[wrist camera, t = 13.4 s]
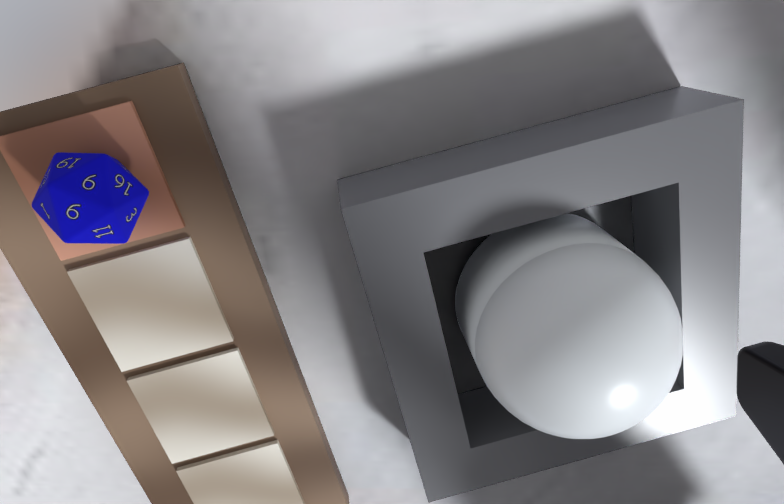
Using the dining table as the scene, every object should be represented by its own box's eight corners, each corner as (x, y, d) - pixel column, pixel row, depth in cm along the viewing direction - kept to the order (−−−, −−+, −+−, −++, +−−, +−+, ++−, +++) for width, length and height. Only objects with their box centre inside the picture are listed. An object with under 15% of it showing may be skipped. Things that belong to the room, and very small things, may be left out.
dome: (623, 336, 22) (732, 452, 17) (469, 379, 22) (523, 510, 16) (612, 187, 20) (735, 262, 14) (436, 235, 20) (487, 331, 14)
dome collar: (688, 369, 24) (736, 416, 21) (415, 445, 24) (428, 502, 21) (681, 86, 19) (743, 99, 16) (337, 179, 19) (340, 209, 16)
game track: (348, 495, 24) (349, 514, 23) (187, 540, 24) (182, 561, 23) (183, 62, 17) (176, 65, 16) (-52, 126, 17) (-74, 132, 16)
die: (176, 191, 17) (133, 273, 16) (105, 188, 18) (57, 267, 16) (129, 125, 15) (74, 212, 14) (49, 124, 16) (-12, 207, 14)
